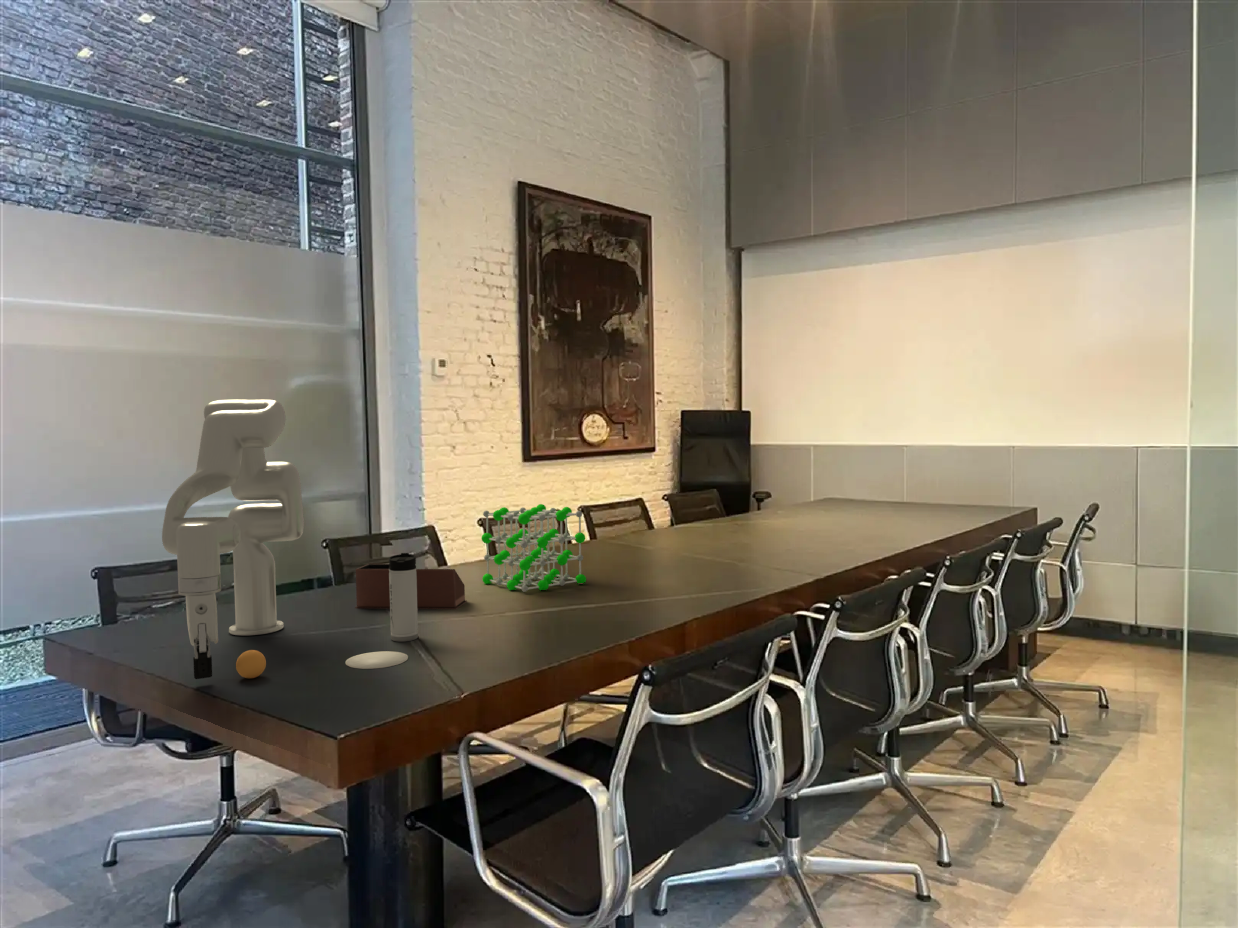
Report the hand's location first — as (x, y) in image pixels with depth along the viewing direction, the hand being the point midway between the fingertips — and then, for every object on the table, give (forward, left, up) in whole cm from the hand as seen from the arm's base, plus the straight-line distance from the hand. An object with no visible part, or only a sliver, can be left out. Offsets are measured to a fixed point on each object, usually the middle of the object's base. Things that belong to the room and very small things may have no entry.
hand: (203, 676), depth 169 cm
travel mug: (-16, +44, -2) cm, 47 cm away
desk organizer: (-54, +55, -2) cm, 77 cm away
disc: (0, +34, -2) cm, 34 cm away
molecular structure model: (-64, +97, -2) cm, 116 cm away
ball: (0, +9, +1) cm, 9 cm away
